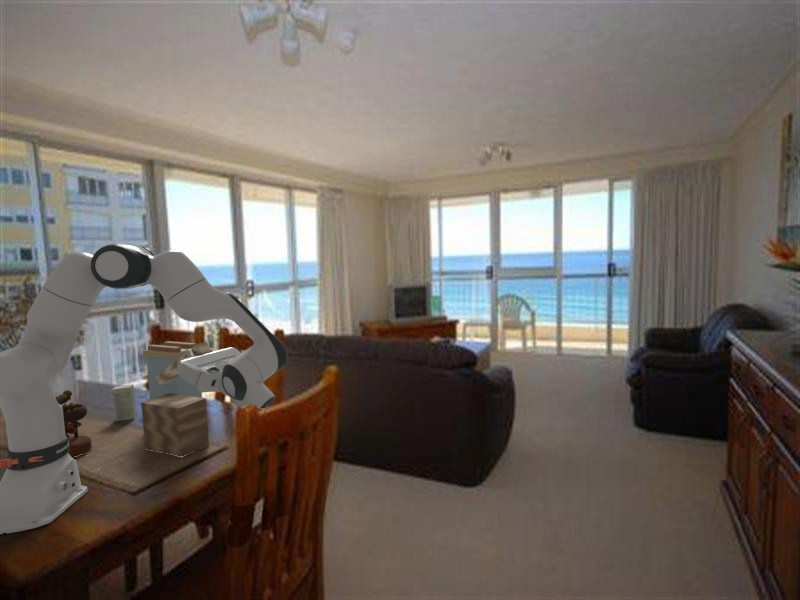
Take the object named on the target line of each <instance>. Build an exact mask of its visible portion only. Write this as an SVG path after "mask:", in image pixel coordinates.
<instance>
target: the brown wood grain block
mask: <svg viewBox="0 0 800 600" xmlns="http://www.w3.org/2000/svg"><path fill="white" fill-rule="evenodd" d="M141 414H142V415H141V416H142V425H143V427H142V428H143V438H144V448H145V449H148V450H153V451H158V452H163V453H168V454H173V455H177V456H184V455H186V454H189V453H191V452H193V451H196V450H198V449H200V448H202V449H204V448H206V447H208V446H210V441H209V430H208V429H209V428H208V427H209V426H208V413H207V401H206V398H205V397H204V398H203V397H202V398H199V397H192V396H185V395H179V394H172V393H169V394H166V395H163V396H160V397H157V398H154V399H151V400H150V399H148V400H145V401H142V402H141ZM205 446H206V447H205ZM203 447H204V448H203ZM145 449H144V450H145ZM148 450H147V451H148ZM200 450H201V449H200ZM153 451H152V452H153ZM198 451H199V450H198ZM196 452H197V451H196Z"/></svg>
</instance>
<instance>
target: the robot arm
mask: <svg viewBox="0 0 800 600" xmlns="http://www.w3.org/2000/svg"><path fill="white" fill-rule="evenodd" d="M147 285H150V286H152V287H154V288H155V289H156V290H157V291H158V292H159V294H160V295H161V296H162V298H163V299H164V301H165V302H166V303H167V304H168V307H170V309H171V310H172V311H173V312H174V313H175V315H176V316H178V317H179V318H180V319H182V320H184V321H187V322H192V323H194V322H195V323H201V322H203V323H204V322H207V321H213V320H219V319H220V320H221V319H227V320H230V321H232V322H234V323H235V324H236V326H238V327H239V328H240V329H241V330H242V331H243V332H244V333H245V334H246V335H247V336H248V337H249V338H250V340H252V341H253V344H252V345H251V346H249V348H247V349H246V350H244V351H243V352H242V353H241V352H240V350H239V349H237V348H235V347H232V346H231V347H227V348H222V349H218V350H217V349H215V348H212V347H210V349H211V351H210V352H209V353H207V354H203V355H199V356H197V355H194V352H195V351H194V350H192V349H187V350H186V352H185V354H186V355H187V356H188V357H189V358H188V359H184V360H181V361H180V362H179V364H178V367H177V374H178V375H179V376H180V377H181V378H183V379H184V380H185V381H186V382H188V383H189V384H191V385H193V386H197V390H198V391H199V392H201V393H202V394H203V393H221V394H223V395H224V396H227V397H228V398H230V399H231V401H232V403H233V404H235V405H236V406H237V407H239V408H240V409H241V408H242V407H243V406H245V405H248V404H254V405H256V406H257V407H259V408H267V407H270V408H271V406H273V403H274V402H275V399H276V396H275V394H274V393H273V392H272V391H271V389H269V388H268V387H267V385H266V384H264V382H265V381H266V380H267V379H268V378H270V377H272V375H274V374H276V373H277V372H280V370H282V369H283V368H285V367H287V365H288V360H289V350H288V347H287V345H286V344H285V343H284V342H283V341H282V340H281V339H280V338H278V336H276V335H274V334H273V333H272V332H271V331H270V330H269V329H268V328H267V327H266V326H265V325H264V324H263V323H262V322H261V321H260V320H259V319H258V318H257V316H256V315H255V314H254V313H252V311H250V310H249V308H248V307H247V306H246V305H244V304H243V302H242V301H241V300H239V299H238V298H237V297H236V296H235V295H234V294H232V293H230V292H223V291H220V290H219V289H217V288H216V287H215V286H213V285H212V284H211V283H210V282H209V281H208V280H207V278H206V277H205V275H204V274H203V272H202V271H201V270H200V269H199V268H198V267H197V265H196V264H195V263H194V261H192V260H191V259H190V258H189V257H188V256H187V255H186V254H185V253H183V252H182V251H180V250H177V249H168V250H165V251H162V252H160V253H158V254H156V255H155V254H154V253H153V252H152V251H151V250H149V249H148V248H145V247H142V246H139V245H136V244H132V243H109V244H107V245H104V246H101V247H100V248H99V249H97V250H96V252H94V254H93V253H92V254H91V253H88V252H84V251H73V252H70V253H67V254H66V255H65V256H64V257H63V258H62V259H61V260H60V261H59V263H58V264H57V265H56V266H55V267H54V269H52V271H51V273H50V274H49V275H48V277H47V279H45V282H44V284H43V285H42V287H41V289H40V291H39V293H38V294H37V296H36V297H35V299H34V301H33V303H32V305H31V306H30V308H29V310H28V312H27V314H26V319H27V320H26V321H27V322H26V325H25V328H24V332H23V335H22V337H21V340H20V341H19V342H18V343H17V344H16V345H15V346H14V347H11V348H8V349H6V350H3V351H1V352H0V411H1V413H2V416H3V418H4V421H5V422H4V423H5V429H6V436H7V443H8V444H7V445H8V448H7V451H6V455H5V458H1V460H0V469H6V470H5V471H4V474H3V475H2V478H1V479H0V535H4V534H3V533H6V534H12V533H18V532H24V531H27V530H32V529H36V528H39V527H42V526H44V525H45V526H46V525H48V524H50V523H52V522H53V521H54V520H56V519H57V518H58V517H59V516H61V515H62V513H64V512H65V511H66V510H67V509H69V508H70V507H71V506H72V505H73V504H75V503H76V502H77V501H79V499H81V498H82V497H83V496H84V495H86V494H87V492H88V491H89V490H88V486H86V485H82V482H81V478H80V471H79V466H78V462H77V460H76V459H75V458H72V457H71V456H70V454H69V453H68V452H69V441H68V437H67V436H65V426H64V417H63V409H62V406H63V405H62V404H61V405H60V404H58V403H57V401H56V399H55V398H56V397H55V395H54V392H53V389H52V385H51V384H52V380H54V379H56V378H58V377H59V376H60V375H61V374H62V373H63V371H64V370H65V369H66V367H67V365H68V364H69V360H70V356H71V354H72V352H73V348H74V346H75V343H76V340H77V337H78V335H79V333H80V330H81V329H82V326H83V325H84V323H85V321H86V320H87V318H88V316H89V313H90V312H91V311H92V309H93V307H94V305H95V303H96V301H97V299H98V297H99V296H100V294H101V292H102V291H103V290H104V289H105V288H106V287H108V288H110V289H117V290H118V289H119V290H120V289H123V290H124V289H125V290H127V289H130V290H131V289H135V288H138V287H143V286H147Z"/></svg>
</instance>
